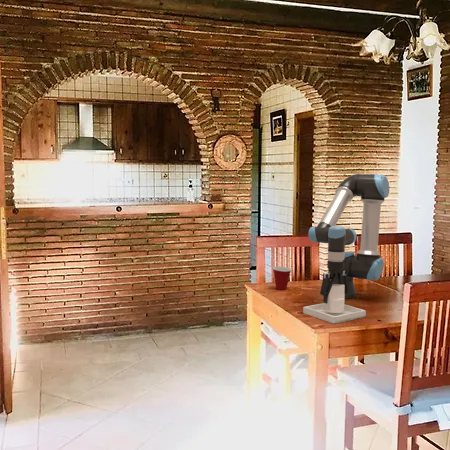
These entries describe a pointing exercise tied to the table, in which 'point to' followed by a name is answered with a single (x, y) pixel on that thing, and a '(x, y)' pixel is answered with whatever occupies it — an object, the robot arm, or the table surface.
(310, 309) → the tray
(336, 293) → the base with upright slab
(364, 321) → the table surface
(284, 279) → the plastic cup
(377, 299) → the table surface
